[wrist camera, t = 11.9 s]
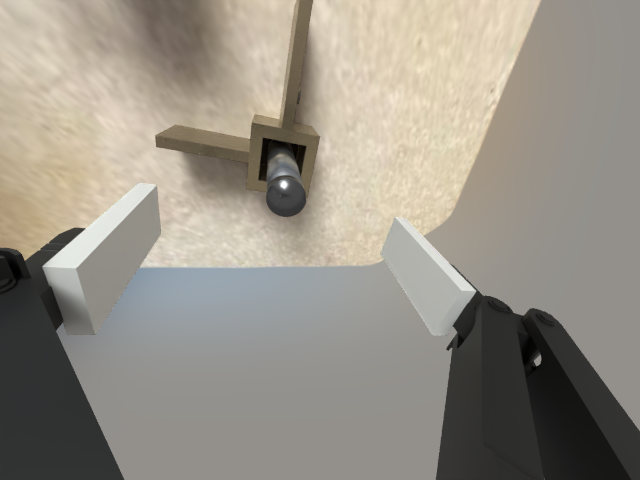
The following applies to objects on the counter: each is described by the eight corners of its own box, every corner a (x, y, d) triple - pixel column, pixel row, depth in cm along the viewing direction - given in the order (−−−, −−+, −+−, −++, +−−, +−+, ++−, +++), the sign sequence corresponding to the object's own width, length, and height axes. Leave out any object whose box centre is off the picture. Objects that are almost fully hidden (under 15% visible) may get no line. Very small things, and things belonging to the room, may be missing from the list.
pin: (266, 159, 32) (264, 213, 19) (269, 135, 30) (268, 176, 18) (289, 163, 32) (302, 219, 20) (293, 140, 31) (309, 183, 18)
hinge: (177, 159, 30) (158, 176, 25) (168, -36, 22) (138, -70, 17) (301, 179, 34) (307, 197, 29) (332, 18, 26) (347, 3, 21)
